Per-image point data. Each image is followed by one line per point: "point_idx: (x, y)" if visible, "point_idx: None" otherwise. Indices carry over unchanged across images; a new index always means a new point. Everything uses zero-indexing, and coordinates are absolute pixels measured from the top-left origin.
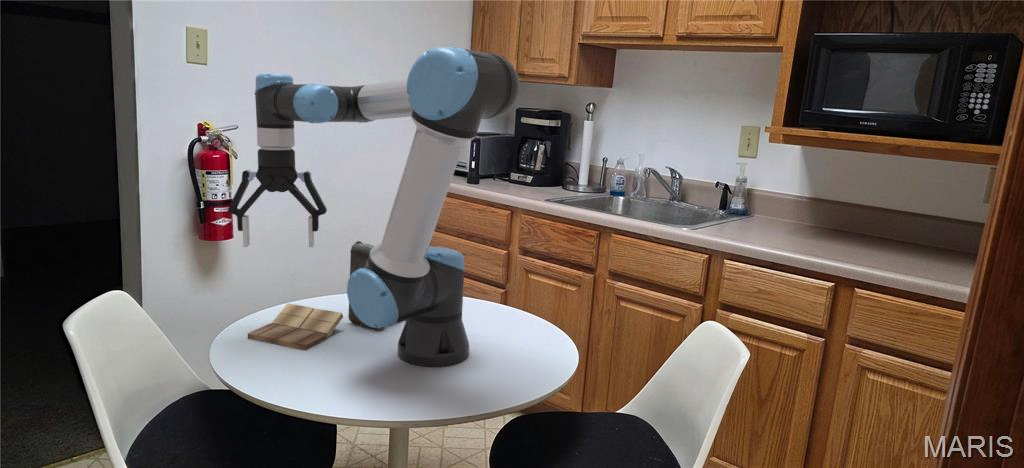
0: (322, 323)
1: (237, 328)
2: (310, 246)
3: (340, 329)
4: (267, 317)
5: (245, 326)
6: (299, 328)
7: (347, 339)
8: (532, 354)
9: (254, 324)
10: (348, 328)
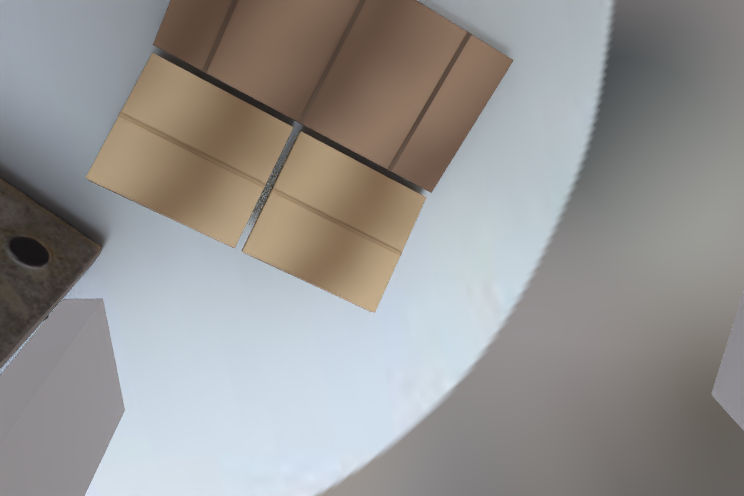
0: (184, 127)
1: (560, 185)
2: (82, 304)
3: None
4: (456, 309)
5: (530, 208)
6: (297, 137)
7: (63, 36)
8: None
9: (497, 231)
10: None
